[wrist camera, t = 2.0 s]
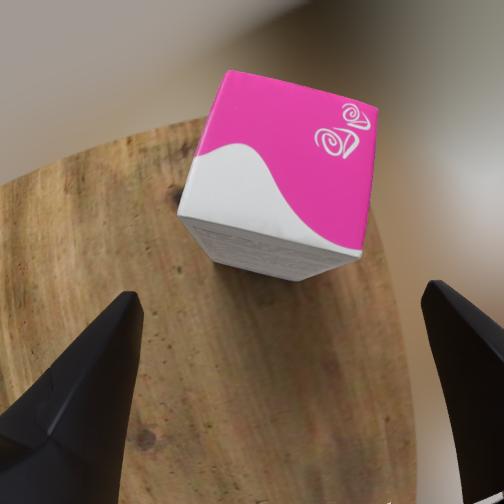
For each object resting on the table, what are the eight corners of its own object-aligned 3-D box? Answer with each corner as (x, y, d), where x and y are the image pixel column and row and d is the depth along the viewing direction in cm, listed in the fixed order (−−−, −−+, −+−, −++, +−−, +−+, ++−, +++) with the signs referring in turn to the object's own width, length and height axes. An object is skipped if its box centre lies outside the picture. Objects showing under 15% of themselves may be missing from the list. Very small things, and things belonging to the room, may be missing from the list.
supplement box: (301, 284, 20) (363, 266, 9) (210, 262, 20) (162, 218, 9) (319, 198, 21) (382, 103, 10) (232, 177, 21) (217, 64, 10)
